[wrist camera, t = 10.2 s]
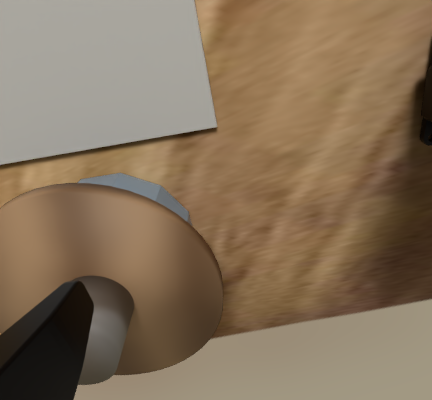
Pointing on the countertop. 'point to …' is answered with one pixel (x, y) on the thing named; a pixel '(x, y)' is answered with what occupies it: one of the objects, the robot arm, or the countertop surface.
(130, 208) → the lid
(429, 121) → the robot arm
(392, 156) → the countertop surface
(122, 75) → the mat
